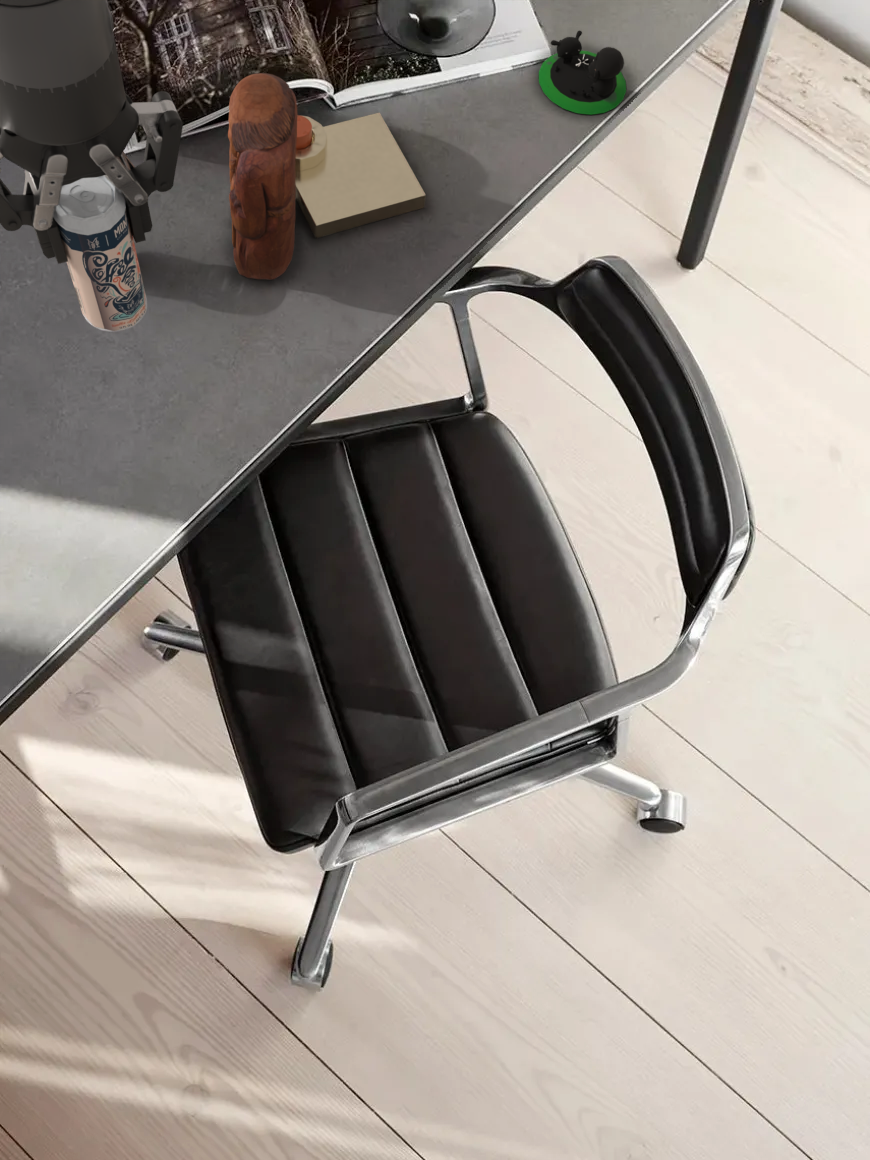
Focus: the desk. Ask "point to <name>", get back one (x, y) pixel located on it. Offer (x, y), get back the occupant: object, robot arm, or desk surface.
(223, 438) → the desk surface
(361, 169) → the scale
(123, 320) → the beer can
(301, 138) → the button
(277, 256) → the wooden figurine
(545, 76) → the toy figurine
